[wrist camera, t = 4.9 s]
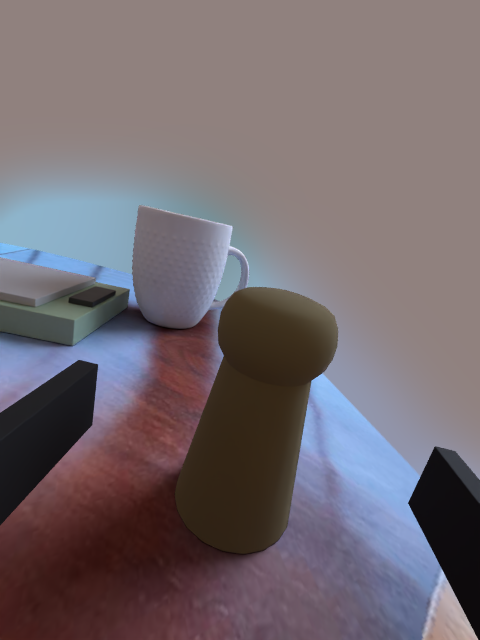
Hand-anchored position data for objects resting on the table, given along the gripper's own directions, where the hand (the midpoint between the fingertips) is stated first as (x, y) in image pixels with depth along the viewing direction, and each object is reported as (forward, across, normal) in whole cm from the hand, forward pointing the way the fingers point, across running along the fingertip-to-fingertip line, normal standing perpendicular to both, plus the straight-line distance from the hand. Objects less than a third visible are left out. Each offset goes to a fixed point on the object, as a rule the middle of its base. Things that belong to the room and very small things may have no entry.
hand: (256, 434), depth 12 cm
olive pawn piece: (+3, 0, -6) cm, 7 cm away
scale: (+21, -26, -6) cm, 33 cm away
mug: (+28, -10, -6) cm, 30 cm away
